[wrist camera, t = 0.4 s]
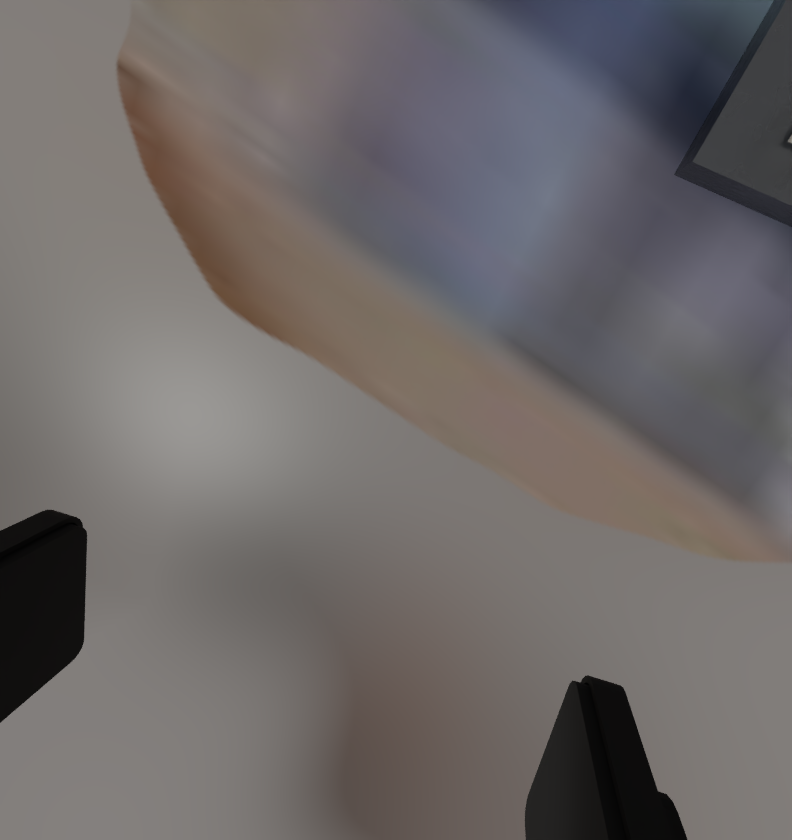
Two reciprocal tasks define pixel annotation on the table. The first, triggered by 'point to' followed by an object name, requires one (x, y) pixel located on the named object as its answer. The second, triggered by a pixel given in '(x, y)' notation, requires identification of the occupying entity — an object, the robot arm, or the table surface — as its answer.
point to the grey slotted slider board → (752, 126)
